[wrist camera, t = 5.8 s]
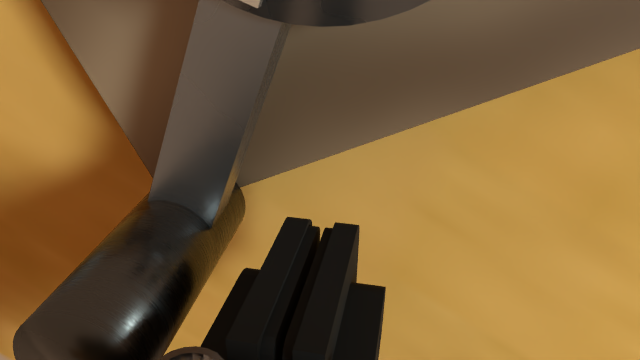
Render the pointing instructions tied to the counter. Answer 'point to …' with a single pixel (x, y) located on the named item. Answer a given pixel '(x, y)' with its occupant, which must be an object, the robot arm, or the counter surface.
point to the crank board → (345, 67)
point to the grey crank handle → (183, 188)
